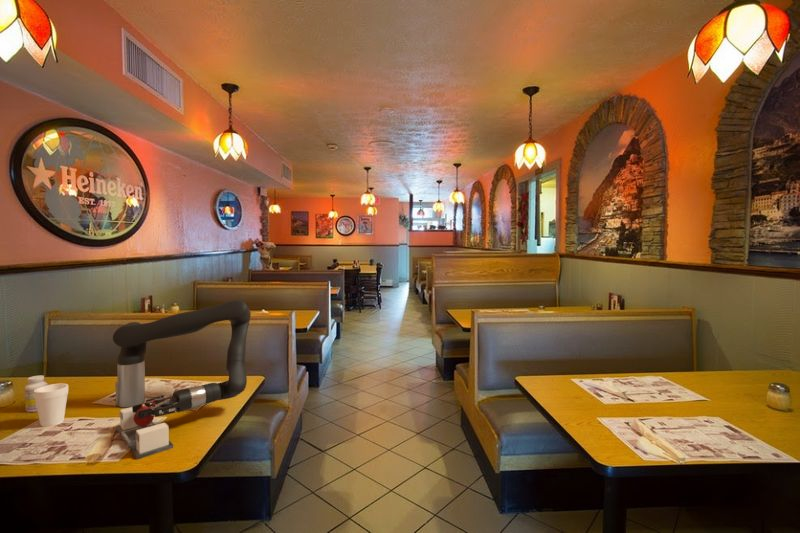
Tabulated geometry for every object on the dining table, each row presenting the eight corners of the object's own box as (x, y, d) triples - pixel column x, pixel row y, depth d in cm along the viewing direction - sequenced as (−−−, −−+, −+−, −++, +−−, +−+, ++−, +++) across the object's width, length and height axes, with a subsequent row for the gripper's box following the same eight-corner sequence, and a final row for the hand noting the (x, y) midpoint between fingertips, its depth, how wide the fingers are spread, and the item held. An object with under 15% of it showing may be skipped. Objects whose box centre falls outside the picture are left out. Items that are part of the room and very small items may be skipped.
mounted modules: (119, 426, 138) (119, 410, 138) (146, 419, 144) (146, 403, 144) (138, 454, 120) (138, 435, 120) (168, 444, 126) (168, 426, 126)
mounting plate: (115, 429, 138) (115, 423, 138) (149, 420, 146) (149, 415, 146) (135, 459, 119) (135, 453, 119) (174, 447, 126) (174, 441, 126)
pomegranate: (158, 425, 134) (157, 402, 133) (142, 432, 128) (141, 408, 128) (146, 422, 136) (145, 400, 135) (129, 429, 130) (129, 406, 130)
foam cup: (30, 430, 136) (29, 394, 135) (39, 420, 144) (39, 385, 144) (65, 425, 140) (64, 390, 140) (72, 415, 148) (71, 382, 148)
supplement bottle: (44, 404, 158) (43, 373, 158) (51, 408, 155) (50, 376, 154) (22, 410, 153) (21, 377, 152) (28, 414, 149) (27, 381, 149)
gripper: (182, 383, 147) (129, 395, 135) (196, 393, 137) (140, 407, 125) (183, 402, 147) (129, 416, 135) (196, 414, 137) (140, 430, 125)
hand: (135, 412), depth 130 cm, fingers closed on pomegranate, 5 cm apart
